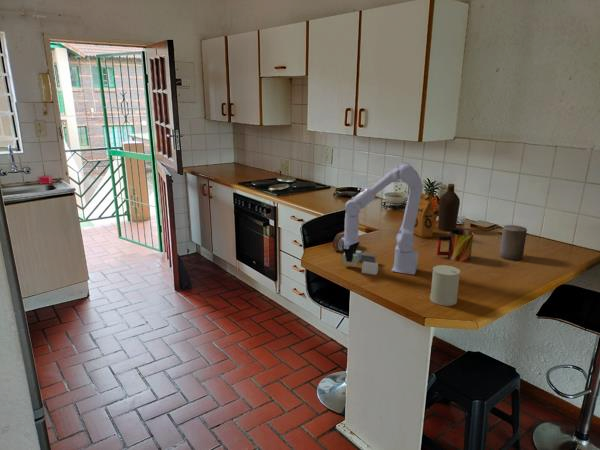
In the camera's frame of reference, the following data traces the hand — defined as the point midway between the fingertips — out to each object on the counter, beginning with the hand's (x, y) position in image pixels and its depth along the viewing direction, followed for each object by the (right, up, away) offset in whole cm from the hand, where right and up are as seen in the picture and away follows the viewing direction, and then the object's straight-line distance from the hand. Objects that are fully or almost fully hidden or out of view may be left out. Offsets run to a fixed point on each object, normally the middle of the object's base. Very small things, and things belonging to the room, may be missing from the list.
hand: (350, 260), depth 183 cm
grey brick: (+8, -5, -4) cm, 10 cm away
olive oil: (+59, +12, +56) cm, 82 cm away
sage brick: (0, -1, 0) cm, 2 cm away
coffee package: (+42, +9, +46) cm, 63 cm away
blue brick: (+3, -1, +10) cm, 11 cm away
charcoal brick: (+8, -2, +6) cm, 11 cm away
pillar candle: (+75, 0, +15) cm, 76 cm away
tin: (0, +3, +24) cm, 24 cm away
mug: (+49, 0, +12) cm, 50 cm away
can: (+30, -12, -28) cm, 43 cm away
